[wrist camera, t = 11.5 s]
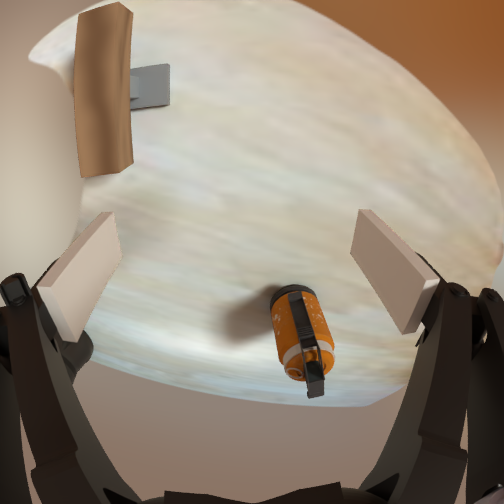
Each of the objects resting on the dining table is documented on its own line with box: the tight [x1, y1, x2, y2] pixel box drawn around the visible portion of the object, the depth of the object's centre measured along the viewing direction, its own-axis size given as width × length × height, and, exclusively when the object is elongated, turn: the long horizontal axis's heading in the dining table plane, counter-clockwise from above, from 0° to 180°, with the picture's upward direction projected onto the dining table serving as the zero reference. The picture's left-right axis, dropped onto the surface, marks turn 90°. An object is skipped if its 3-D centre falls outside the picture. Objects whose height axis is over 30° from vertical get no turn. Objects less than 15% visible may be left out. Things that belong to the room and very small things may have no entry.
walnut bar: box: [74, 2, 134, 178], centre depth 23 cm, size 5×20×5 cm, turn 179°
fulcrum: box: [130, 64, 170, 109], centre depth 28 cm, size 12×6×7 cm, turn 89°
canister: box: [270, 285, 335, 399], centre depth 43 cm, size 9×11×20 cm
